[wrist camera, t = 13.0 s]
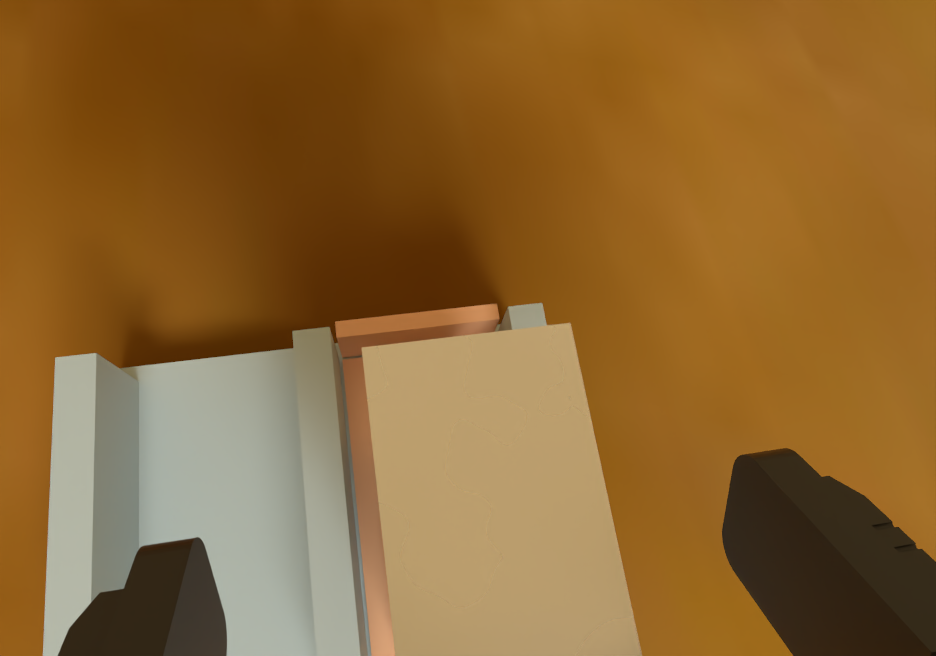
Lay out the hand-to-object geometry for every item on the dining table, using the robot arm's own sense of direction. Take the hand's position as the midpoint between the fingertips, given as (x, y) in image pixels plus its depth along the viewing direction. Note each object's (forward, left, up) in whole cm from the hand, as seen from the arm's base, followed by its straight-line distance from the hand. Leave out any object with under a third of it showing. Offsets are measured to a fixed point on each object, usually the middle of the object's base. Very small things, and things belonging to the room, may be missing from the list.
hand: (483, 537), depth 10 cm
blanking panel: (0, 0, -10) cm, 10 cm away
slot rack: (-3, 0, -11) cm, 12 cm away
